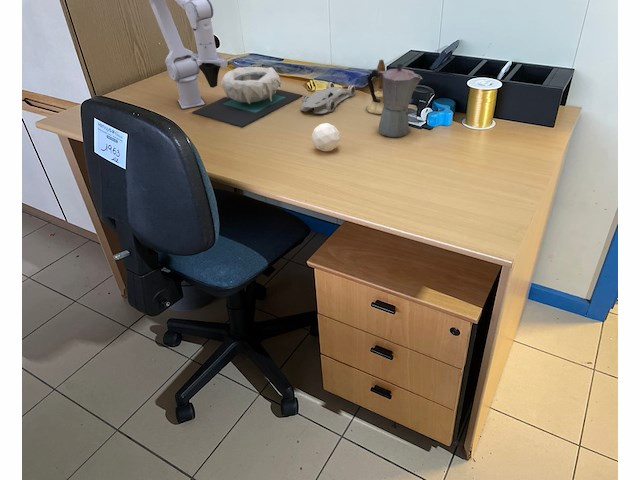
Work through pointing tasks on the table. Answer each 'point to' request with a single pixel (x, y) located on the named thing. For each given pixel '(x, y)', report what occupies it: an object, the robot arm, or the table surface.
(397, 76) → the moka pot
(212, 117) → the mat
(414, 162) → the table surface
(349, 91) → the car model
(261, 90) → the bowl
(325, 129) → the ball
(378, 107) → the hand bell
